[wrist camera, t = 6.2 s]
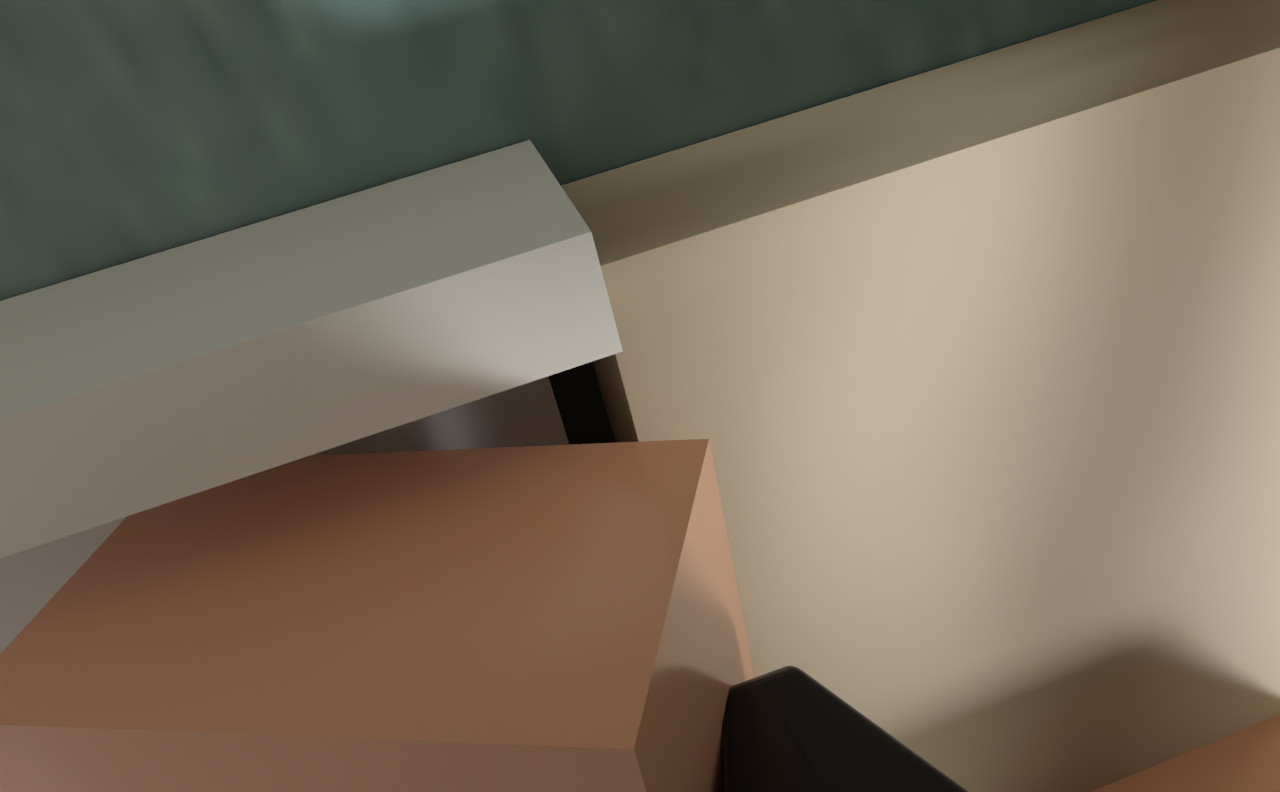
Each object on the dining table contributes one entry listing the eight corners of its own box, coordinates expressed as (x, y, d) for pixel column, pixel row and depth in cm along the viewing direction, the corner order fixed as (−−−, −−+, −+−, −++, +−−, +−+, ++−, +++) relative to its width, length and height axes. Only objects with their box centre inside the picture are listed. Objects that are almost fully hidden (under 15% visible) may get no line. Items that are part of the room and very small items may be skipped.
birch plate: (1453, -92, 11) (1662, -76, 9) (1294, 801, 19) (1390, 898, 17) (543, 191, 10) (592, 267, 8) (778, 1017, 18) (827, 1144, 16)
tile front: (709, 438, 8) (634, 747, 6) (782, 828, 11) (751, 1156, 8) (178, 462, 10) (-64, 722, 7) (356, 804, 12) (223, 1080, 10)
